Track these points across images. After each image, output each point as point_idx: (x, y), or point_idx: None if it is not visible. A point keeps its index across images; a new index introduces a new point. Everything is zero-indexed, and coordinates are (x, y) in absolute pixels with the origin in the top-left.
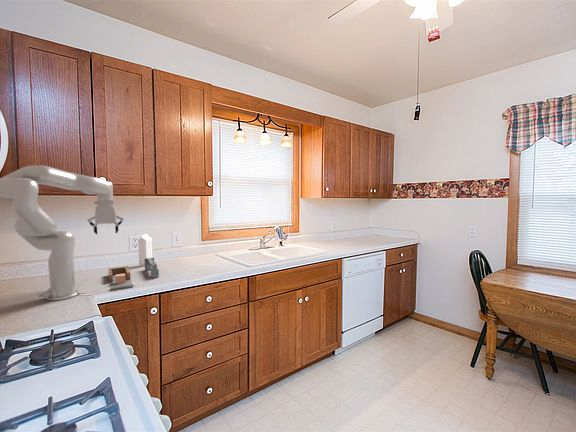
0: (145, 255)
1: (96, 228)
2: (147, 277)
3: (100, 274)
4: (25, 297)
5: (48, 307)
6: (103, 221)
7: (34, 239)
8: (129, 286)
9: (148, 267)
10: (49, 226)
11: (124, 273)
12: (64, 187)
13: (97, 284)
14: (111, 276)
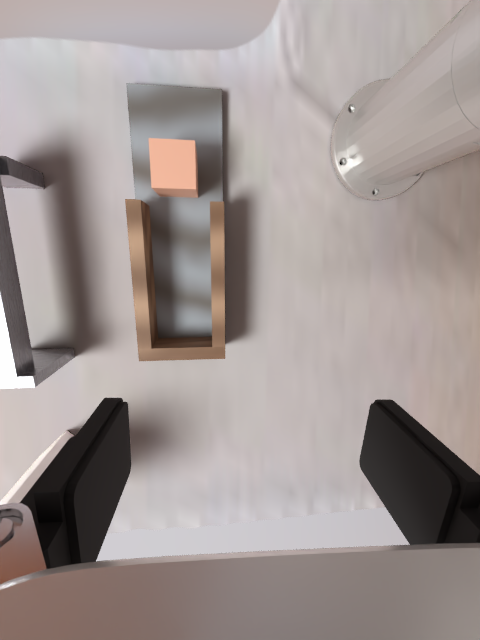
0: (34, 478)
1: (439, 462)
2: (62, 238)
3: (251, 406)
4: (476, 217)
5: (429, 7)
6: (453, 636)
7: None
8: (141, 85)
9: (45, 356)
10: None
11: (152, 186)
12: None
13: (265, 248)
14: (214, 202)
